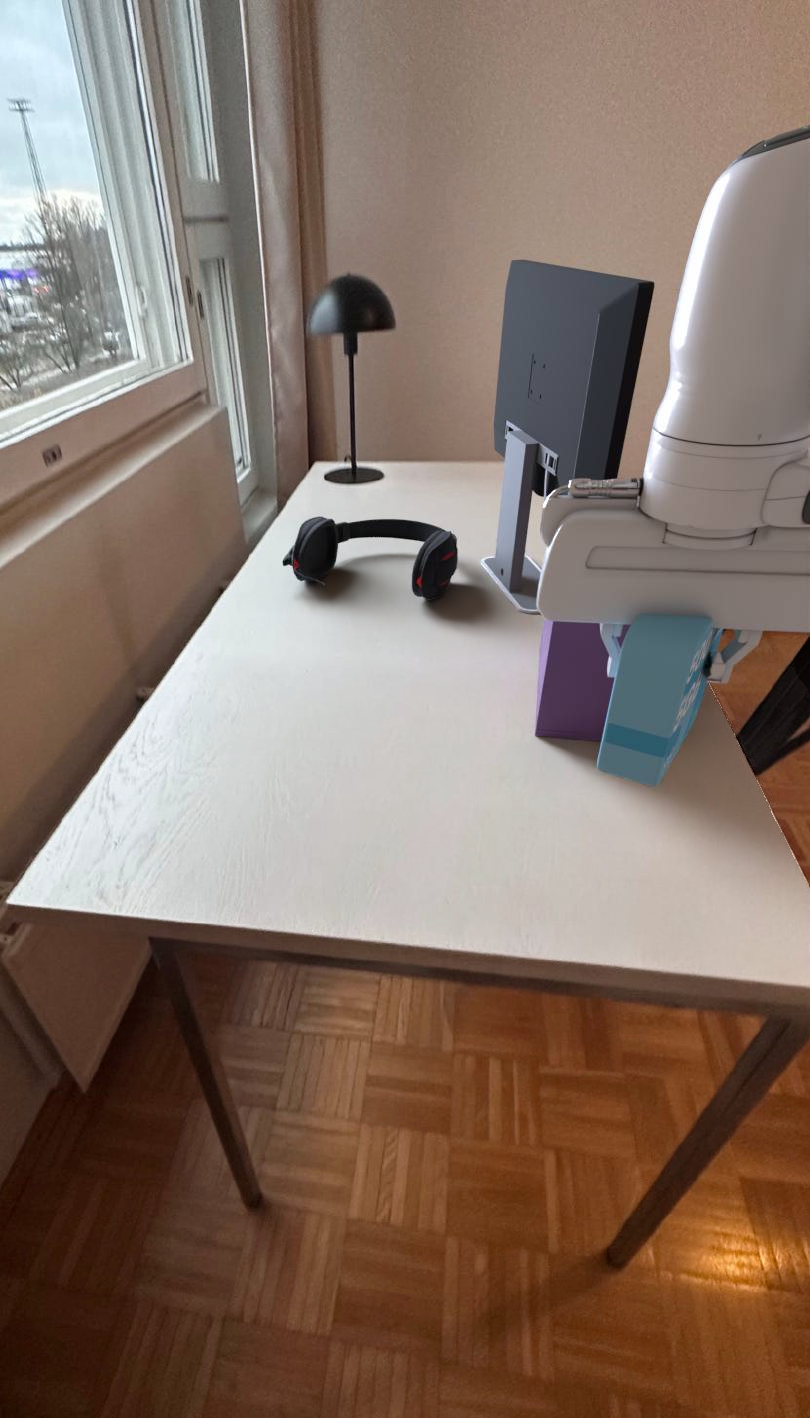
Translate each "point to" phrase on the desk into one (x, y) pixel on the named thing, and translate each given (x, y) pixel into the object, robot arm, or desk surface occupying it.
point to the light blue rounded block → (655, 694)
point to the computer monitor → (560, 395)
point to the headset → (323, 535)
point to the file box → (573, 681)
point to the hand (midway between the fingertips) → (665, 677)
